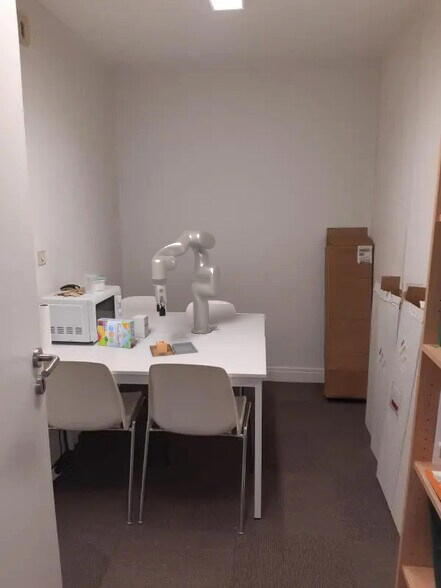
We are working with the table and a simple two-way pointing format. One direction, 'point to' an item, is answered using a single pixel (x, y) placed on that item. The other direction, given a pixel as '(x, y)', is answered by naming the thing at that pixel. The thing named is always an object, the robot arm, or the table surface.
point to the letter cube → (161, 346)
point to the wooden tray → (169, 352)
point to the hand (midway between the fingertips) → (161, 313)
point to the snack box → (116, 332)
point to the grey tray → (184, 348)
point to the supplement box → (141, 326)
